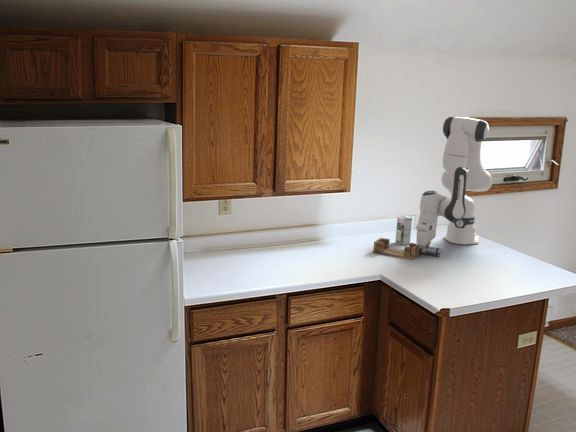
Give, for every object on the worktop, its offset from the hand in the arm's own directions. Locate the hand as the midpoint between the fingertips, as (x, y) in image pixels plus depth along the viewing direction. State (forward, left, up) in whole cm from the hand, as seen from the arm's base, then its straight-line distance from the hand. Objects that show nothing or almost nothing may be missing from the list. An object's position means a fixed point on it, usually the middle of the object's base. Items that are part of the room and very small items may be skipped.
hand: (425, 250), depth 289 cm
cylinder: (0, 0, -2) cm, 2 cm away
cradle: (+8, -12, -2) cm, 15 cm away
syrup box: (-12, -16, -2) cm, 20 cm away
